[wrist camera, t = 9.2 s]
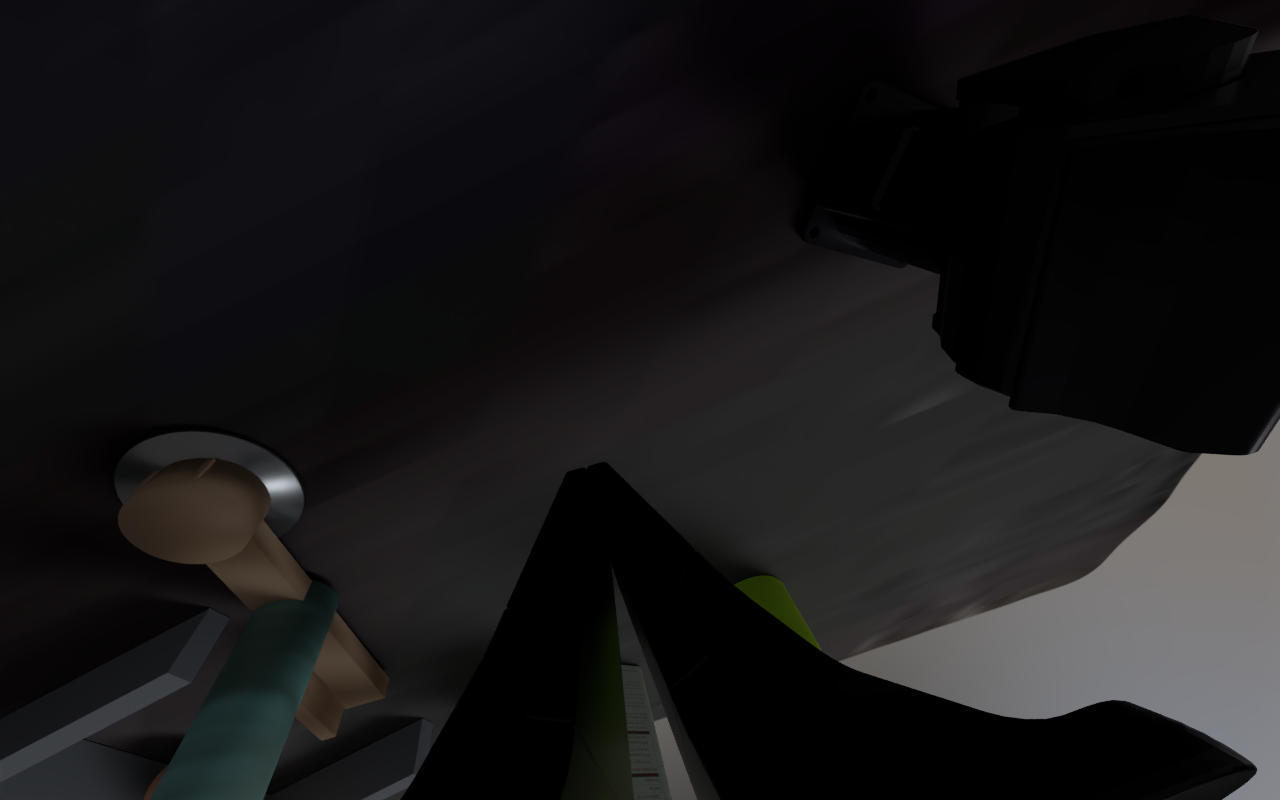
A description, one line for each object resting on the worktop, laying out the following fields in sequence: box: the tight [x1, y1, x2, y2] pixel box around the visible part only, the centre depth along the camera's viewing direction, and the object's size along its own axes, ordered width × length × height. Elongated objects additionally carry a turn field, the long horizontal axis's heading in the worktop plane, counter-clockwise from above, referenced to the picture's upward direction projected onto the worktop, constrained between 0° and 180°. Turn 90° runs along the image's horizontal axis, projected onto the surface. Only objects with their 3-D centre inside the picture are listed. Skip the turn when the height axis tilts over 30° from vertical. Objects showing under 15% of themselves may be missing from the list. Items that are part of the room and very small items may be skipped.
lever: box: [118, 458, 389, 800], centre depth 20 cm, size 19×4×12 cm, turn 7°
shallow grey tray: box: [0, 608, 433, 800], centre depth 28 cm, size 15×18×4 cm
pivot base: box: [114, 429, 306, 538], centre depth 21 cm, size 7×7×1 cm
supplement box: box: [621, 665, 672, 800], centre depth 31 cm, size 7×7×13 cm
